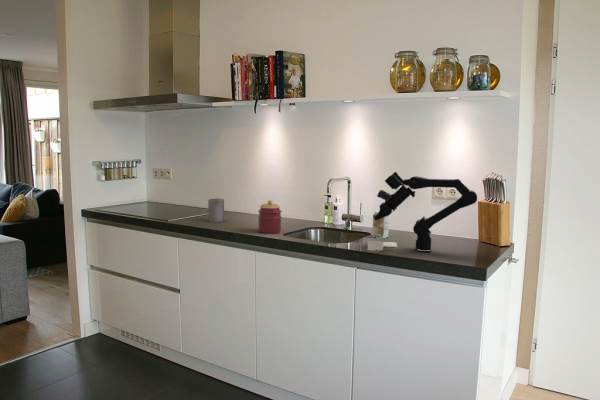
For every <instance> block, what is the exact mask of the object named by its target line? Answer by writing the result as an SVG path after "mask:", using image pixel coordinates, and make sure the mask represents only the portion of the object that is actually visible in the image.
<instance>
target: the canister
mask: <svg viewBox="0 0 600 400" xmlns="http://www.w3.org/2000/svg"><path fill="white" fill-rule="evenodd" d="M259 208H260V209H258V211H257V212H258V217H257V219H258V228H257V229H258V232H259V233H261V234H267V235H271V234H272V235H273V234H274V235H275V234H279V233H281V232H282V214H281V213H282V210H281V209H280V208H281V205H278V204H277V203H273V200H268V201H267V203H263V204H261V205H260V206H259Z"/></svg>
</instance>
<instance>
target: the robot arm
mask: <svg viewBox="0 0 600 400" xmlns="http://www.w3.org/2000/svg"><path fill="white" fill-rule="evenodd" d="M384 182H385V184H387V185H388V186H389V187H390V189H391V190H395V192H394V193H391V194H390V193H389V192H387V191H385V190H383V189H380V190H379V191H378V193H377V195H376V197H377V198H380V199H382V200H384V202H382V203H381V204H380V205H379V210H380V211H379V212H378V214H377V215H376V217H375V218H374V219H375V220H378V219H380V218H383V217H386V216H389V217H390V216H391V214H392V213H393V212H395V211H396V210H398V209H397V208H398V207H400V206H401V204H402V203H404V202H405V201H406V200H407V199H408V198H410V196H411V197H412V198H415V196H416V191H415V190H419V189H425V188H445V189H446V188H453V189H455V190H456V191H457V192H458V193H459V194H460V195H461V196H460V197H458V199H456V201H454V202H452V203H450V204H449V205H448V206H446V207H443V209H440V210H439V211H438V212H435V213H434V214H432V215H430V216H429V217H425V216H422V217H421V218H420V219H417V220H416V221H415V223H414V225H413V228H412V231H413V233H414V234H416V235H417V236H416V239H415V240H414V241H415V242H414V243H415V245H414V249H415V250H416V249H420V250H431V251H432V237H431V234H432V231H431V230H430V229H431V228H432V227H433V226H434V225H435V224H437V223H438V222H441V221H442V220H443V219H445V218H447V217H448V216H450V215H452V214H453V213H456V212H457V211H459V210H460V209H463V208H467V207H469V206H472V205H474V204H476V202H478V201H477V200H478V195H477V193H476V192H475V191H474V190H470V189H469V188H468V187H467V186H466V184H464V183H463V182H462V180H460V179H459V178H454V179H453V178H452V179H451V178H449V179H448V178H447V179H446V178H444V179H443V178H427V177H422V176H419V175H418V176H417V175H414V176H411V177H410V178H409V179H406V178H405V179H403V178H402V177H401V176H400V175H399V174H398V172H397V171H394V172H393V173H392V174H391V175H389V176H388V177H387V178H386V179H384ZM413 190H414V191H413Z"/></svg>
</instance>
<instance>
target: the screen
mask: <svg viewBox="0 0 600 400" xmlns="http://www.w3.org/2000/svg"><path fill="white" fill-rule="evenodd" d="M383 242H384V239H380V238H374V237H367V250H383V251H384V248H383Z"/></svg>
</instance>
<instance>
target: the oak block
mask: <svg viewBox="0 0 600 400" xmlns="http://www.w3.org/2000/svg"><path fill="white" fill-rule="evenodd" d="M376 215H377V214H375V213H373V214H372V235H374V234H384V217H383V218H380V219H378V220H375V219H374V218H375V217H376Z"/></svg>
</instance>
